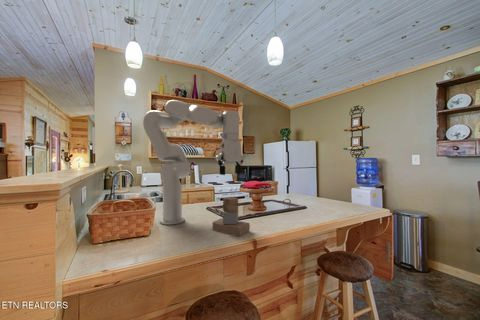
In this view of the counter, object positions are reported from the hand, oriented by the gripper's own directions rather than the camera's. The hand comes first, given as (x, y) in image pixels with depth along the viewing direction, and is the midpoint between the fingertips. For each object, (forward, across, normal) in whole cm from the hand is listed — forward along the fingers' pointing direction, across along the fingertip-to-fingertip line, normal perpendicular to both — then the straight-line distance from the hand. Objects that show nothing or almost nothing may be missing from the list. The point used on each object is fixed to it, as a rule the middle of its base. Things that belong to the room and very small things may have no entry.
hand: (230, 174), depth 106 cm
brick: (+27, -1, -1) cm, 27 cm away
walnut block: (+17, -1, -1) cm, 17 cm away
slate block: (+22, -1, -2) cm, 22 cm away
